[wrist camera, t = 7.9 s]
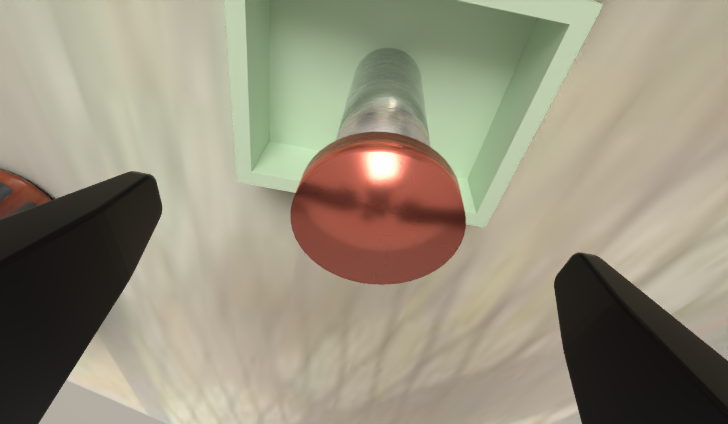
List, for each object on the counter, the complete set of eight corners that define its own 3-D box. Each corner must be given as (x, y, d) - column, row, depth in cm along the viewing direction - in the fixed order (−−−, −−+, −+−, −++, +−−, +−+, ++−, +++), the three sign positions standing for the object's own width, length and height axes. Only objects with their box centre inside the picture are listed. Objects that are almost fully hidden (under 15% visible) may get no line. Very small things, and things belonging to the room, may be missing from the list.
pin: (447, 43, 13) (494, 173, 6) (420, 134, 15) (435, 295, 9) (347, 22, 13) (294, 134, 6) (335, 117, 15) (287, 270, 9)
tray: (564, -14, 12) (603, 4, 10) (473, 185, 17) (485, 227, 15) (255, -82, 11) (218, -80, 9) (259, 144, 17) (236, 181, 14)
